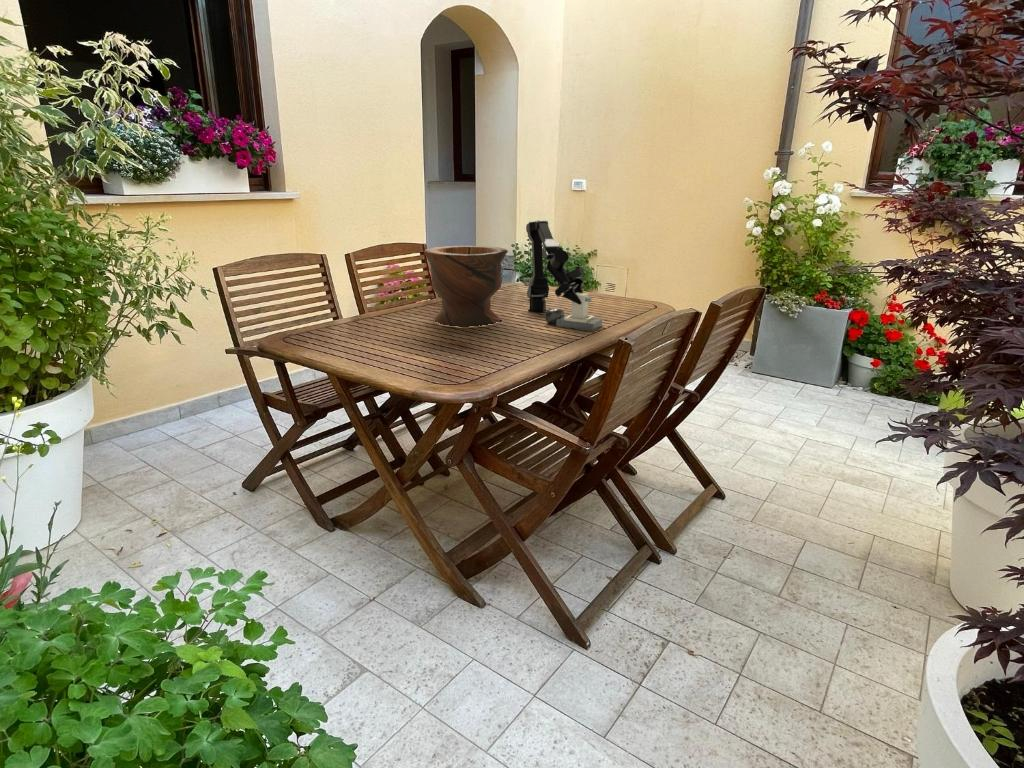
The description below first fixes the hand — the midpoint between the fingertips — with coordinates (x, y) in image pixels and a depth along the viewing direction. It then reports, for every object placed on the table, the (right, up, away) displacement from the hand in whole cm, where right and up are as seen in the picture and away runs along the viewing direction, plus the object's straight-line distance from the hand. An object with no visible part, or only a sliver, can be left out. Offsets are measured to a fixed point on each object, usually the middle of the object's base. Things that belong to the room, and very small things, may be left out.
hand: (583, 302), depth 246 cm
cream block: (-1, -6, +3) cm, 7 cm away
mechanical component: (-19, +10, +59) cm, 63 cm away
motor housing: (-4, -9, +5) cm, 11 cm away
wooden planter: (-48, -6, +14) cm, 50 cm away
